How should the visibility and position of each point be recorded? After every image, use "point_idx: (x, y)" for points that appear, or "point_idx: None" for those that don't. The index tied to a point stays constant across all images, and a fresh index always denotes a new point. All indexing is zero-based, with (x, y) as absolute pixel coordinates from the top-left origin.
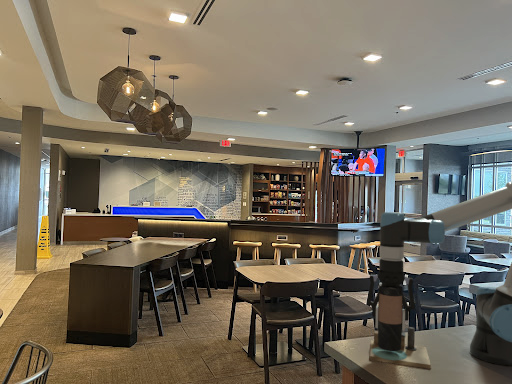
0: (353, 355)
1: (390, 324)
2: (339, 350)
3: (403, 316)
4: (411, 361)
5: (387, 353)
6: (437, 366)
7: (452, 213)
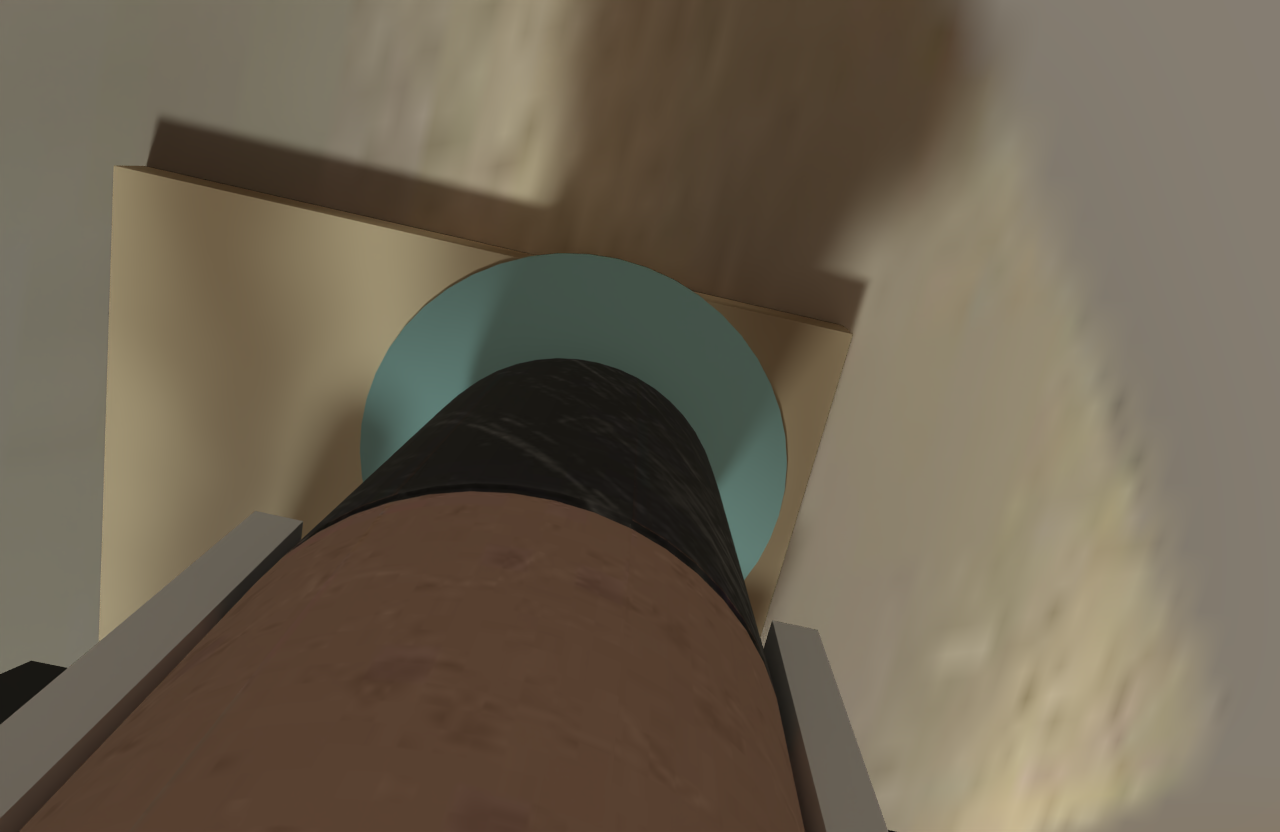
0: (1009, 436)
1: (540, 497)
2: (1139, 561)
3: (69, 716)
4: (343, 239)
5: None
6: (54, 257)
7: None
